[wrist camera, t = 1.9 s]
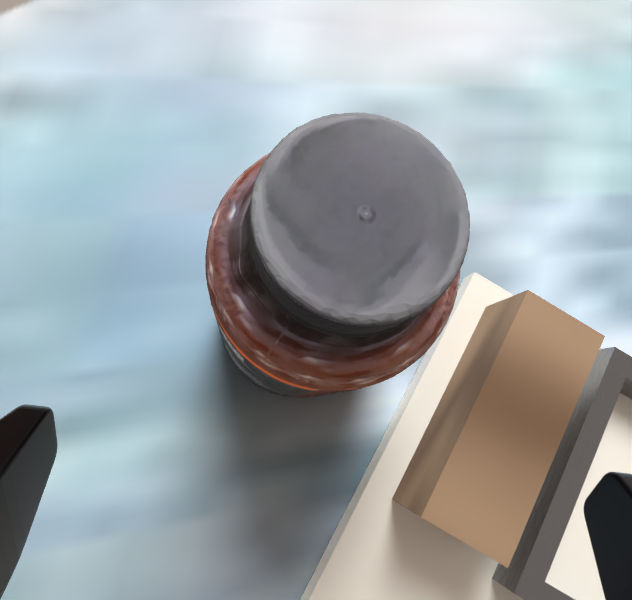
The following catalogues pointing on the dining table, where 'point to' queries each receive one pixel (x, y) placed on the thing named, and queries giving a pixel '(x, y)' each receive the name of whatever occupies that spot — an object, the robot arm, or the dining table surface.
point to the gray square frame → (566, 479)
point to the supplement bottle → (337, 256)
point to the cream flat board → (422, 536)
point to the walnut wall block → (500, 424)
